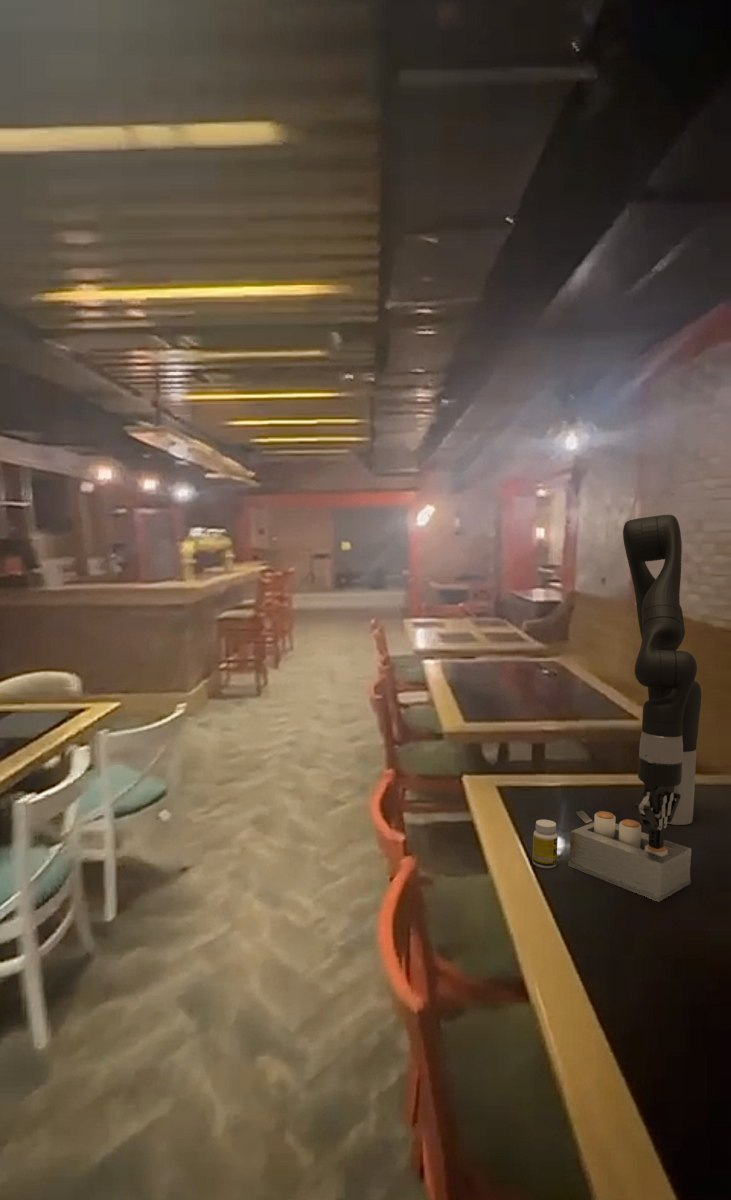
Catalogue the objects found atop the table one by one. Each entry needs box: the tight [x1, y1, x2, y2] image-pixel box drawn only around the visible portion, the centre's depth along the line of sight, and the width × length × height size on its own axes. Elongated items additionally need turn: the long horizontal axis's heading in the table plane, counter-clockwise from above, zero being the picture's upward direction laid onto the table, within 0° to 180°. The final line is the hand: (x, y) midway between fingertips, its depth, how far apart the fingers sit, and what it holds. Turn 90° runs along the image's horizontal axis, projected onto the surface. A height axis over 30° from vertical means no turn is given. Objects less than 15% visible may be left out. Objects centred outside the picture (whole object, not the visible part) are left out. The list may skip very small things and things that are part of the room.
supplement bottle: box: [531, 819, 559, 869], centre depth 148 cm, size 5×5×8 cm
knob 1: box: [593, 810, 617, 840], centre depth 147 cm, size 4×4×6 cm
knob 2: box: [618, 819, 642, 849], centre depth 143 cm, size 4×4×6 cm
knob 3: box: [645, 844, 668, 857], centre depth 139 cm, size 4×4×6 cm
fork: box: [576, 810, 594, 824], centre depth 167 cm, size 3×16×2 cm, turn 38°
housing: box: [567, 821, 692, 903], centre depth 143 cm, size 12×19×7 cm, turn 40°
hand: (655, 846), depth 139 cm, fingers closed
